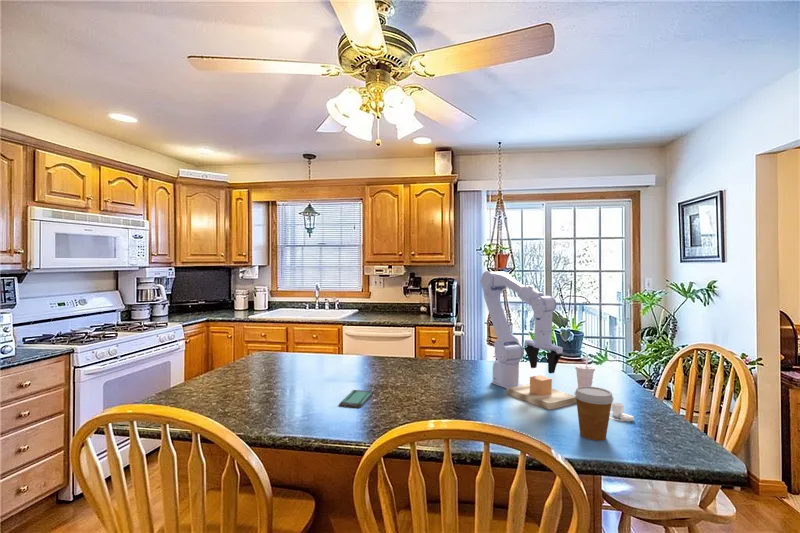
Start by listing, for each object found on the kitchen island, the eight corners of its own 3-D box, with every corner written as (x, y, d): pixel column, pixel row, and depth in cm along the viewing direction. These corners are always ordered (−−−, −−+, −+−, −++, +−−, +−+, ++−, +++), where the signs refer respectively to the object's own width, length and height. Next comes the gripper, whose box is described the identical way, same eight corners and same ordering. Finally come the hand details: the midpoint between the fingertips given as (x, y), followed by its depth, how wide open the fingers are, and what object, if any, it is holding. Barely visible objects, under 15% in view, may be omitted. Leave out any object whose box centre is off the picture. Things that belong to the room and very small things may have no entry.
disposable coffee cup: (567, 428, 114) (568, 385, 114) (599, 428, 115) (600, 385, 115) (585, 443, 105) (586, 396, 105) (620, 443, 106) (621, 396, 106)
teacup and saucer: (638, 424, 119) (638, 410, 119) (608, 422, 121) (609, 408, 121) (627, 414, 128) (627, 401, 128) (599, 411, 130) (600, 399, 130)
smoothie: (596, 397, 143) (597, 357, 143) (576, 395, 144) (577, 356, 144) (591, 391, 149) (592, 353, 149) (572, 390, 150) (573, 352, 150)
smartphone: (338, 403, 129) (353, 389, 143) (338, 407, 129) (353, 392, 143) (361, 405, 127) (373, 390, 142) (361, 409, 127) (373, 394, 142)
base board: (506, 393, 145) (507, 388, 145) (534, 388, 152) (534, 382, 152) (549, 409, 129) (549, 403, 129) (577, 402, 136) (577, 396, 136)
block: (529, 391, 141) (530, 377, 141) (539, 389, 144) (539, 375, 144) (541, 395, 137) (541, 380, 137) (551, 393, 140) (551, 378, 140)
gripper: (519, 328, 145) (518, 366, 146) (552, 335, 133) (551, 376, 133) (532, 327, 149) (532, 364, 149) (567, 333, 137) (566, 374, 137)
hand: (542, 370), depth 141 cm, fingers open, 7 cm apart
